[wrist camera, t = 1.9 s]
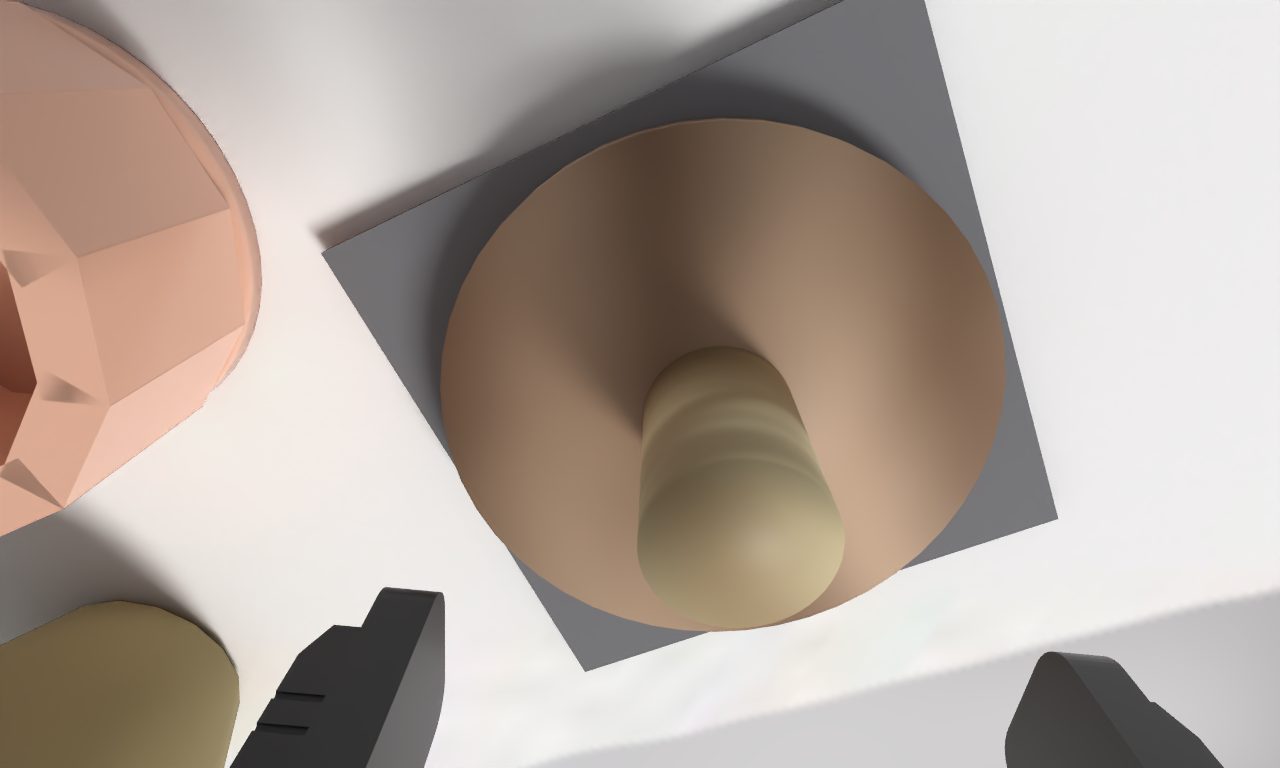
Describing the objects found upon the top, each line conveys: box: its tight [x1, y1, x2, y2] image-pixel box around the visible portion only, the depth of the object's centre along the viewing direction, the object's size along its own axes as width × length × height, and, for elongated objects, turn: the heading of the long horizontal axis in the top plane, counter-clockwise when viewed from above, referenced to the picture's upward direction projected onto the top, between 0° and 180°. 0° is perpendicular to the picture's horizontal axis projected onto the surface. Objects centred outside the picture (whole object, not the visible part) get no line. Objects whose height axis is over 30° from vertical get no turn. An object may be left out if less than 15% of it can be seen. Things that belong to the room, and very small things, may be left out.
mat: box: [321, 0, 1058, 672], centre depth 18 cm, size 14×14×1 cm
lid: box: [440, 117, 1006, 632], centre depth 15 cm, size 13×13×6 cm
